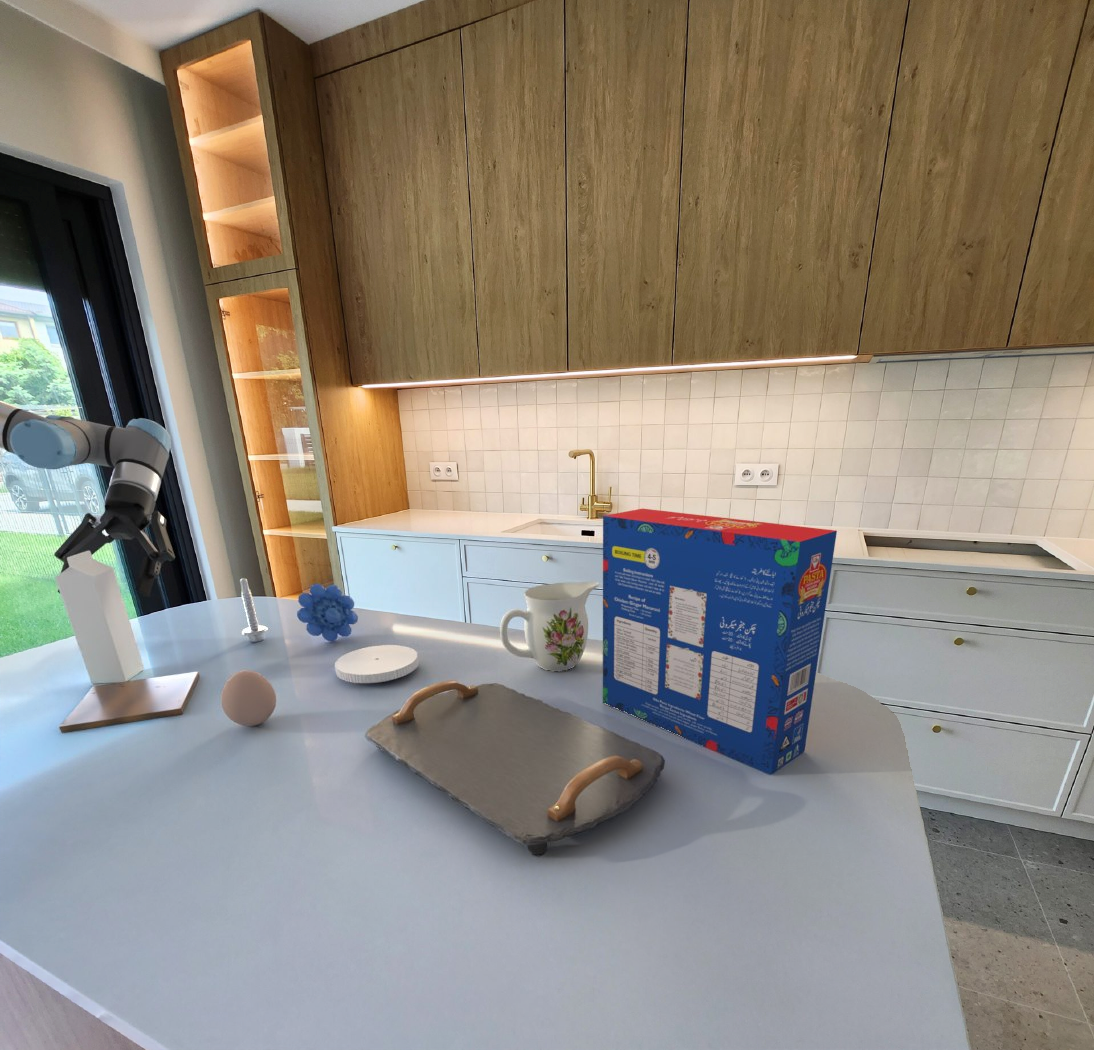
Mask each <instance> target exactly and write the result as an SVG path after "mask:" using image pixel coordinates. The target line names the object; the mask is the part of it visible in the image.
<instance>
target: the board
mask: <svg viewBox="0 0 1094 1050" xmlns="http://www.w3.org/2000/svg"><path fill="white" fill-rule="evenodd" d="M199 679H200V672H199V670H198V671H191V672H184V673H177V674H176V673H175V674H170V675H169V674H168V675H162V676H156V677H147V678H141V679H135V680H133V679H132V680H128V681H125V682H115V683H103V684H97V685H93V686H92V687H91V689H89V691H88V692H86V694H85V695H84V696H83V698H82V699H81V700H80V701H79V703H78V704H77V705H76V706H75V707H74V709H73V710H72V711H71V712H70V714H69V715H68V716H67V717H66V718H65V719H64V720H63V722H62V723H61V724H60V725H59V730H60V733H62V734H63V733H69V732H75V731H80V730H81V731H82V730H87V729H94V728H100V727H106V726H114V725H120V724H126V723H132V722H140V721H144V720H152V719H158V718H164V717H171V716H178V715H183V713H184V711H185V709H186V707H187V705H188V702H189V701H190V697H191V696H192V694H193V692H194V690H195V687H196V685H197V683H198V681H199Z"/></svg>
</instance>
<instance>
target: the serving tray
mask: <svg viewBox="0 0 1094 1050" xmlns="http://www.w3.org/2000/svg"><path fill="white" fill-rule="evenodd" d="M364 738H365V739H366V740H367V741H368V742H370V743H371V744H373V745H375V746H376V748H377V749H378V748H379V749H381V750H380V751H382V752H384V753H386V755H389V756H390V757H392V758H394V759H395V760H396V761H397V762H398V763H400V764H402V765H403V766H406V767H407V769H409V770H410V771H412V772H414V773H415V775H417V776H419V777H421V778H423V779H424V780H426V781H427V782H428V783H429V784H430V785H432V786H435V787H436V788H437V789H438V790H440V791H442V793H444V794H446V795H447V796H448V797H449V798H450V799H452V800H454V801H456V802H457V803H459V804H461V805H462V806H463V807H465V808H466V809H467V810H469V811H471V812H473V814H475V815H477V816H478V817H480V818H481V819H482V820H483V821H485V822H487V823H488V824H490V825H491V826H493V827H494V828H496V829H497V830H499V831H500V832H502V833H503V834H504V835H505V836H507V837H508V838H510V839H512V840H513V841H515V842H517V843H518V844H520V845H522V846H526V848H527V850H528V852H529V853H530V854H531V855H532V856H534V857H541V856H543V855H544V853H545V851H547V848H548V845H549V844H548V843H550V842H555V841H559V840H562V839H564V838H566V837H569V836H574V835H576V834H579V833H582V832H586V831H588V830H591V829H593V828H595V827H596V826H598V825H600V824H602V823H604V822H605V821H607V820H611V819H612V818H614V817H616V816H619V815H620V814H622V813H624V812H625V811H627V810H628V809H630V808H631V807H632V806H633V805H635V803H637V802H639V801H640V800H641V798H642V797H643V796H644V795H645V794H646V793H647V792H648V791H649V790H651V789H652V788H653V787H654V785H655V784H656V783H657V782H658V778H659V777H661V773H662V771H663V770H664V769H665V764H666V760H665V758H664V756H663V755H662V754H661V753H659V752H657V751H656V750H654V749H652V748H649V747H647V746H645V745H642V744H640V743H639V742H636V741H633V740H630V739H628V738H626V737H624V736H621V735H620V734H617V733H616V732H614V731H611V730H609V729H606V728H604V727H601V726H597V725H595V724H592V723H590V722H588V721H586V720H584V719H583V718H581V717H579V716H577V715H574V714H573V713H570V712H568V711H564V710H562V709H560V708H557V707H554V706H552V705H549V704H548V703H546V702H543V700H541V699H537V698H534V697H532V696H528V695H526V694H524V693H522V692H518V691H517V690H516V689H514V688H509V687H508V686H506V685H504V684H500V683H497V682H494V683H481V684H479V685H470V686H467V685H466V684H463V683H461V682H460V681H457V680H445V681H440V682H437V683H434V684H432V685H429V686H426V687H423V688H421V689H420V690H418V691H416V692H414V693H413V694H412V695H411V696H410V697H409V698H407V700H406V701H405V703H404V704H403V705H402V707H401V708H399V709H397V710H396V711H395V712H393V713H391V714H390V715H388V716H386V717H385V718H383V719H382V720H380V721H379V722H378V723H377V724H374V725H371V727H370V728H368V730H367V731H366V732H365V734H364ZM379 749H378V750H379Z"/></svg>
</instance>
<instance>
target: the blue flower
mask: <svg viewBox="0 0 1094 1050" xmlns="http://www.w3.org/2000/svg"><path fill="white" fill-rule="evenodd" d="M298 603H299V605H300V606H301V607H300V608H298V610H297V611H296V617H297V619H298V620H299V621H300V622H301V623H304V624H306V631H307V633H308V634H309V635H310V636H312V637H319V636H322V638H323V639H324V640H325V641H327V642H335V641H336V640H337V639H338V638H339V637H338V636H340V637H349V636H350V635H351V634H352V627H351V626H350V625H355V624H357V623H358V620H359V616H358V614H357V613H356V612H355V611H354V610H352V609H354V607H355V601H354V599H353V598H352V596H349V595H343V591H342V589H341V588H340V586H338V585H336V584H330V585H328V586H327V587H326V588H325V587H324V585H322V584H321V583H313V584H312V585H311V586H310V587H309V593H308V592H302V593H300V594H299V595H298Z"/></svg>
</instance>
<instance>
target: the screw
mask: <svg viewBox="0 0 1094 1050" xmlns="http://www.w3.org/2000/svg"><path fill="white" fill-rule="evenodd" d="M239 584H240V588H241V589H240V590H241V598H242V600H243V606H244V609H245V610H244V611H245V612H246V613H245V614H246V617H247V623H248V627H246V628H244V629H243V630H242V631H241V635H242V636H246V637H248V639H249V640H248V641H249V642H251V643H258V642H262V641H264V639H265V638H264V634H265V633H267V632H268V631H269V629H268V627H266V626H265V625H259V621H258V618H257V613H256V610H255V609H256V608H255V604H254V601H253V600H254V598H253V595H252V592H251V589H250V586H249V583H248V579H247V578H244V577H242V578H241V579H239Z"/></svg>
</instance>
